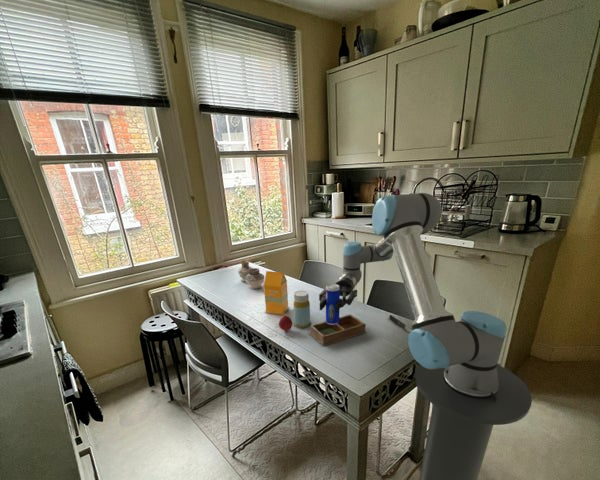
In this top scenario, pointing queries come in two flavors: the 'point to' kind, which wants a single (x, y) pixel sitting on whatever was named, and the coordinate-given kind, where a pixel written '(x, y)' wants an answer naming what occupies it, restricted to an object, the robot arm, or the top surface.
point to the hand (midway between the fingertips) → (328, 307)
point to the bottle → (301, 309)
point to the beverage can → (332, 303)
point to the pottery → (251, 275)
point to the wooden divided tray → (337, 330)
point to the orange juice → (275, 292)
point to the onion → (285, 323)
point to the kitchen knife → (400, 323)
